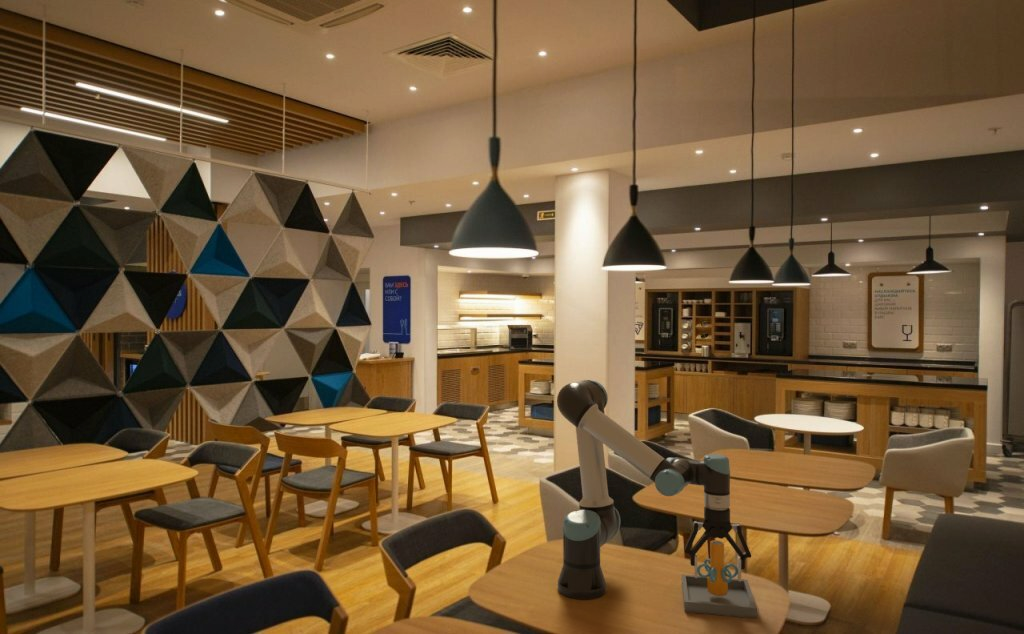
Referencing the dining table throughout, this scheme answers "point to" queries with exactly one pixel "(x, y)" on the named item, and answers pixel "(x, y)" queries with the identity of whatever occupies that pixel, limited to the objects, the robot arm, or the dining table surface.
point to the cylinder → (717, 570)
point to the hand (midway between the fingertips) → (717, 578)
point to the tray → (718, 598)
